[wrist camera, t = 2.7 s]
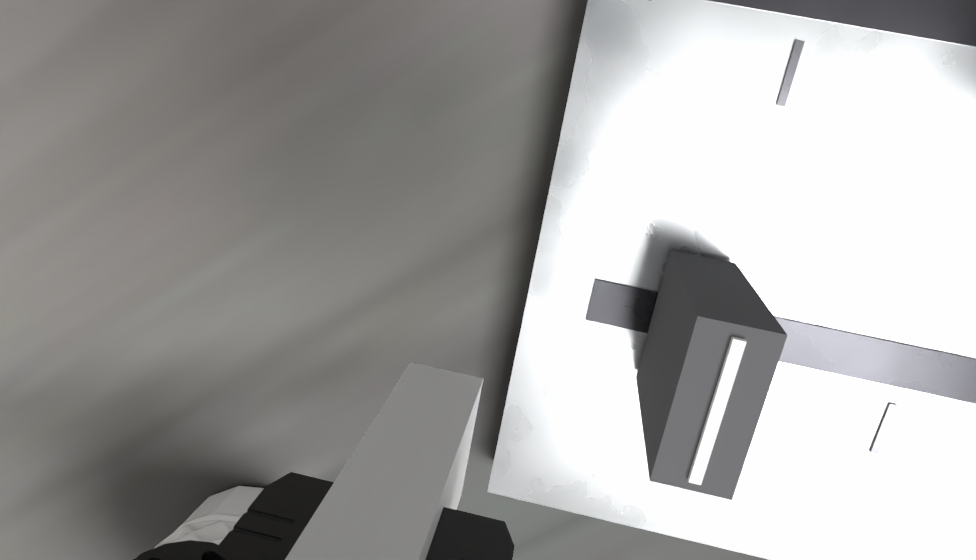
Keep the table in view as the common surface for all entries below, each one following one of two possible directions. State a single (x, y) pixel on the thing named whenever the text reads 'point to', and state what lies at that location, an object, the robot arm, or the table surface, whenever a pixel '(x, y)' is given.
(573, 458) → the console
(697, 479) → the fader tab
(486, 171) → the table surface
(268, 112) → the table surface
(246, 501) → the white cup
